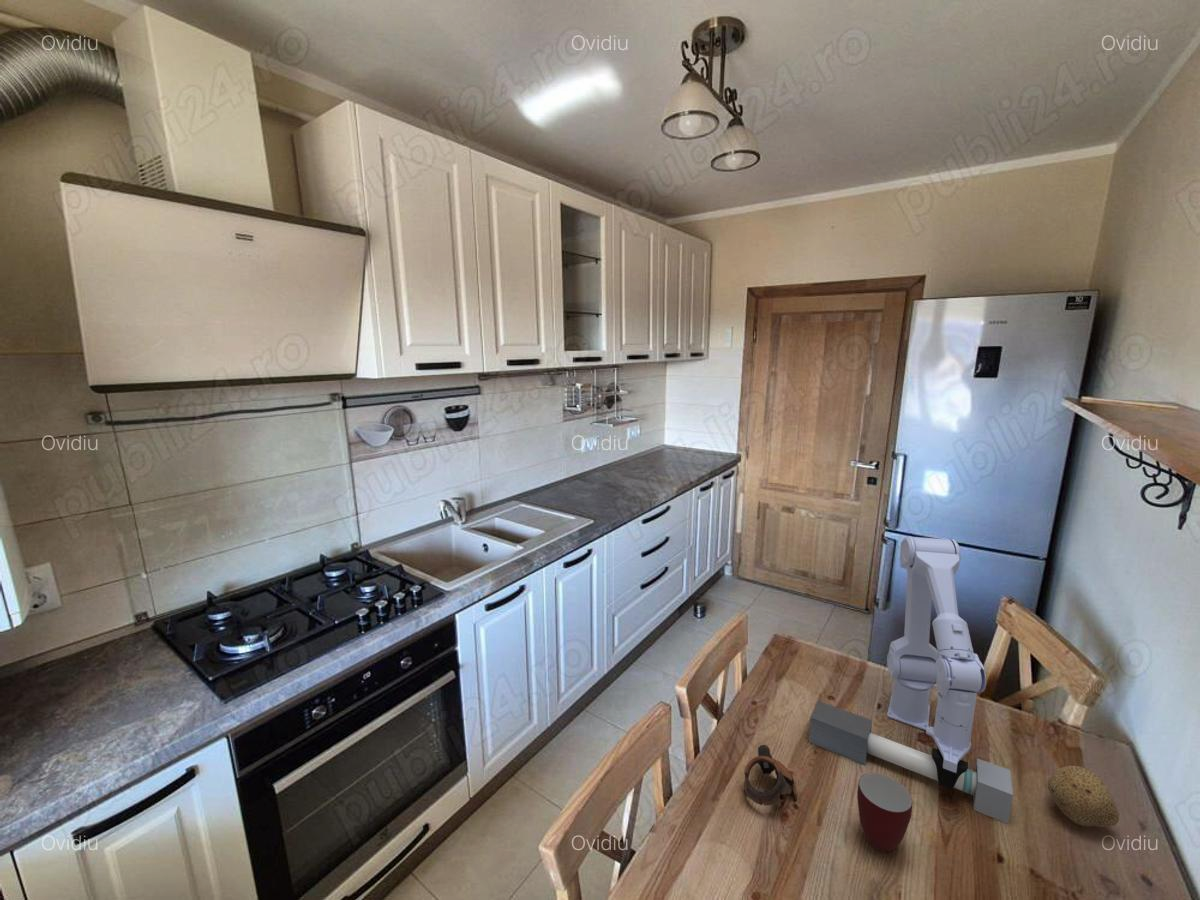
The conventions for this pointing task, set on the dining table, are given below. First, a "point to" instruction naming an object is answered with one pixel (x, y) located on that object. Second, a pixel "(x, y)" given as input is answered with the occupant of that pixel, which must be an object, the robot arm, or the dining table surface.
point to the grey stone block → (840, 732)
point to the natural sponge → (1083, 797)
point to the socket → (993, 791)
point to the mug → (883, 810)
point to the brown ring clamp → (767, 767)
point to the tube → (916, 761)
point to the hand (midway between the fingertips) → (945, 778)
